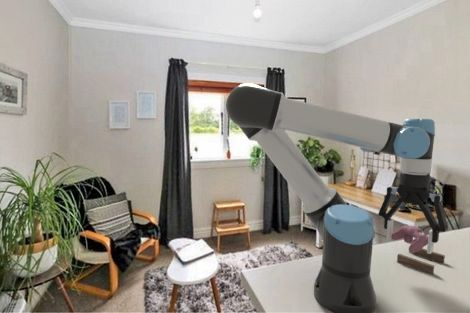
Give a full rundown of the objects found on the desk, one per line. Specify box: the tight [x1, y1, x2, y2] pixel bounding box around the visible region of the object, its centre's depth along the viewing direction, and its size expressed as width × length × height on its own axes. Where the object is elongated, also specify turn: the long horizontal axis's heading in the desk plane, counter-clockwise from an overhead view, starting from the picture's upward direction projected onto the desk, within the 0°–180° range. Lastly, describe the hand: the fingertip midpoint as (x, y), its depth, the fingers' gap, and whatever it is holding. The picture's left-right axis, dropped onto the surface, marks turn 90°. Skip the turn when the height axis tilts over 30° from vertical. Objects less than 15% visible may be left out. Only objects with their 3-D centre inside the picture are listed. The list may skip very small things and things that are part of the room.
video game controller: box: [391, 224, 428, 254], centre depth 84 cm, size 10×5×7 cm, turn 2°
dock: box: [396, 247, 446, 275], centre depth 93 cm, size 12×10×2 cm
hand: (408, 245), depth 84 cm, fingers closed on video game controller, 10 cm apart
